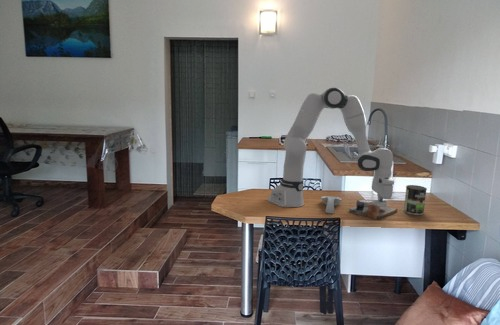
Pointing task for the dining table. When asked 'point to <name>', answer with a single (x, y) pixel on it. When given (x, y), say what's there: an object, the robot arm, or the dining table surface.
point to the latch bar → (366, 203)
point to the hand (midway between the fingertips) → (379, 202)
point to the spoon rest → (330, 203)
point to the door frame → (373, 211)
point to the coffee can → (415, 199)
